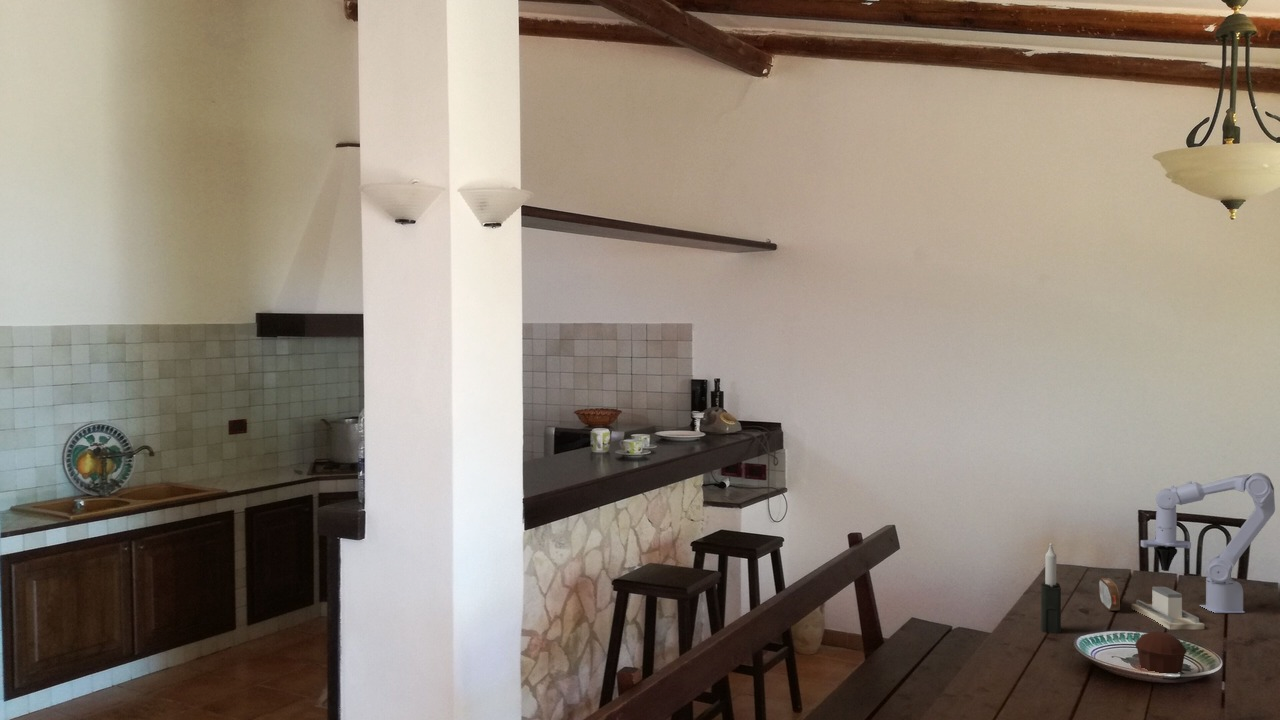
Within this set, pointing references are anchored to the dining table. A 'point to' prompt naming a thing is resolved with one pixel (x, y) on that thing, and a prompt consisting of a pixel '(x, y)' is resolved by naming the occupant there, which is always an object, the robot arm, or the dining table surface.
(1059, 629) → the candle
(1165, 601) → the block
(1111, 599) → the tin
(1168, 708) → the dining table surface
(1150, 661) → the muffin
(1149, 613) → the rail board
